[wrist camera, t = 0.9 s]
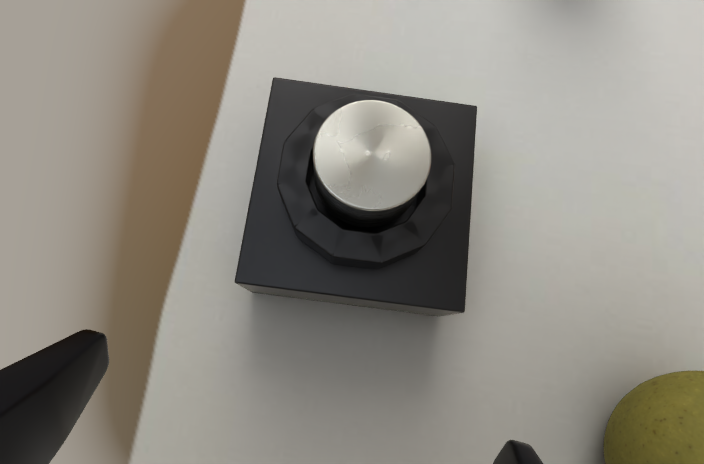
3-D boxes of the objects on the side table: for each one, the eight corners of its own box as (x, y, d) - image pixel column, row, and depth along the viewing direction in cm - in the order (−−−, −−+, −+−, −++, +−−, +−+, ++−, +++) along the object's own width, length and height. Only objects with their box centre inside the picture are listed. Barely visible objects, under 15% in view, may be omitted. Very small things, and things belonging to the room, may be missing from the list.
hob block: (440, 316, 23) (479, 310, 17) (250, 292, 22) (224, 277, 17) (453, 142, 25) (491, 84, 19) (281, 119, 25) (267, 52, 19)
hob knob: (413, 234, 18) (426, 218, 15) (307, 220, 18) (304, 201, 15) (422, 137, 19) (436, 107, 16) (322, 123, 19) (321, 91, 16)
